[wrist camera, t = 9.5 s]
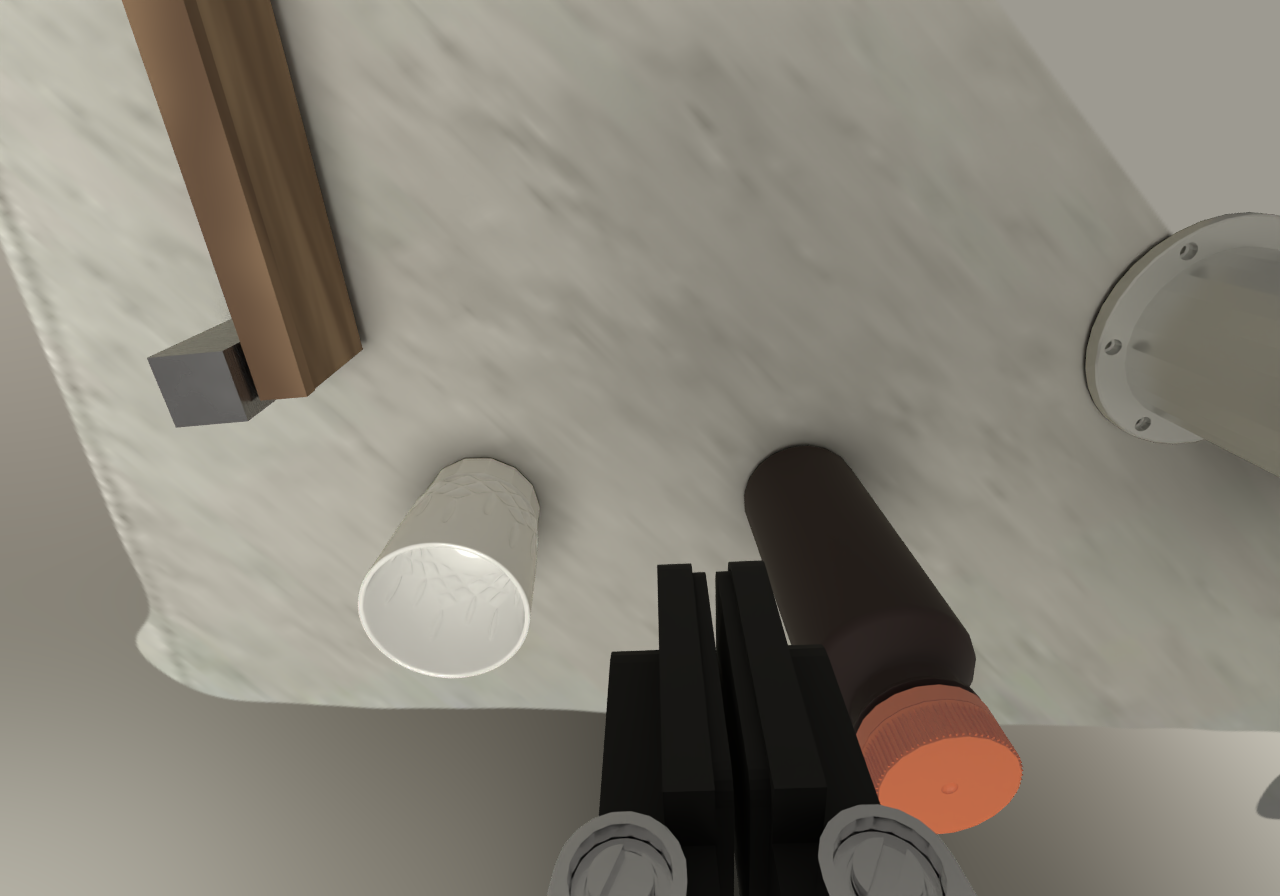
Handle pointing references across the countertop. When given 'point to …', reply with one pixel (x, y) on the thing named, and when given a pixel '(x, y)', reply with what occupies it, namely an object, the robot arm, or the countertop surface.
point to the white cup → (457, 573)
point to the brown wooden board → (251, 184)
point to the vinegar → (881, 640)
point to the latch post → (207, 379)
